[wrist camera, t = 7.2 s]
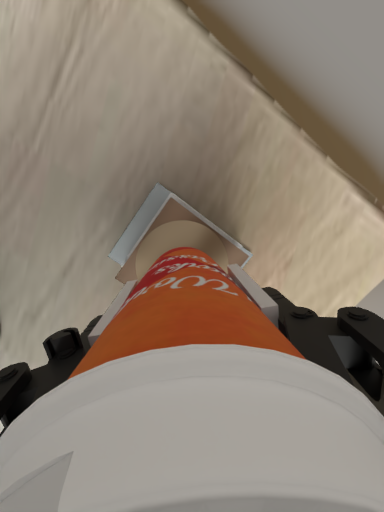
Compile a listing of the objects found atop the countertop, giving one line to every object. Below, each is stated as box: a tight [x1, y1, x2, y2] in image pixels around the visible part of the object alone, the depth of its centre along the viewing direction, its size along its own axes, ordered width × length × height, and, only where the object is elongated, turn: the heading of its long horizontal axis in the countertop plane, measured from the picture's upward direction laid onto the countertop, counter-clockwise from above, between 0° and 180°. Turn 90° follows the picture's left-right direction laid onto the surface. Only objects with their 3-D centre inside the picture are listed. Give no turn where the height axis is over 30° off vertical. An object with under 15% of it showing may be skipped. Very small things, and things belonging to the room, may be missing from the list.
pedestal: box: [115, 197, 249, 284], centre depth 23 cm, size 10×10×5 cm
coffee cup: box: [0, 247, 384, 512], centre depth 10 cm, size 8×8×15 cm
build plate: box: [108, 182, 253, 268], centre depth 26 cm, size 15×11×1 cm
